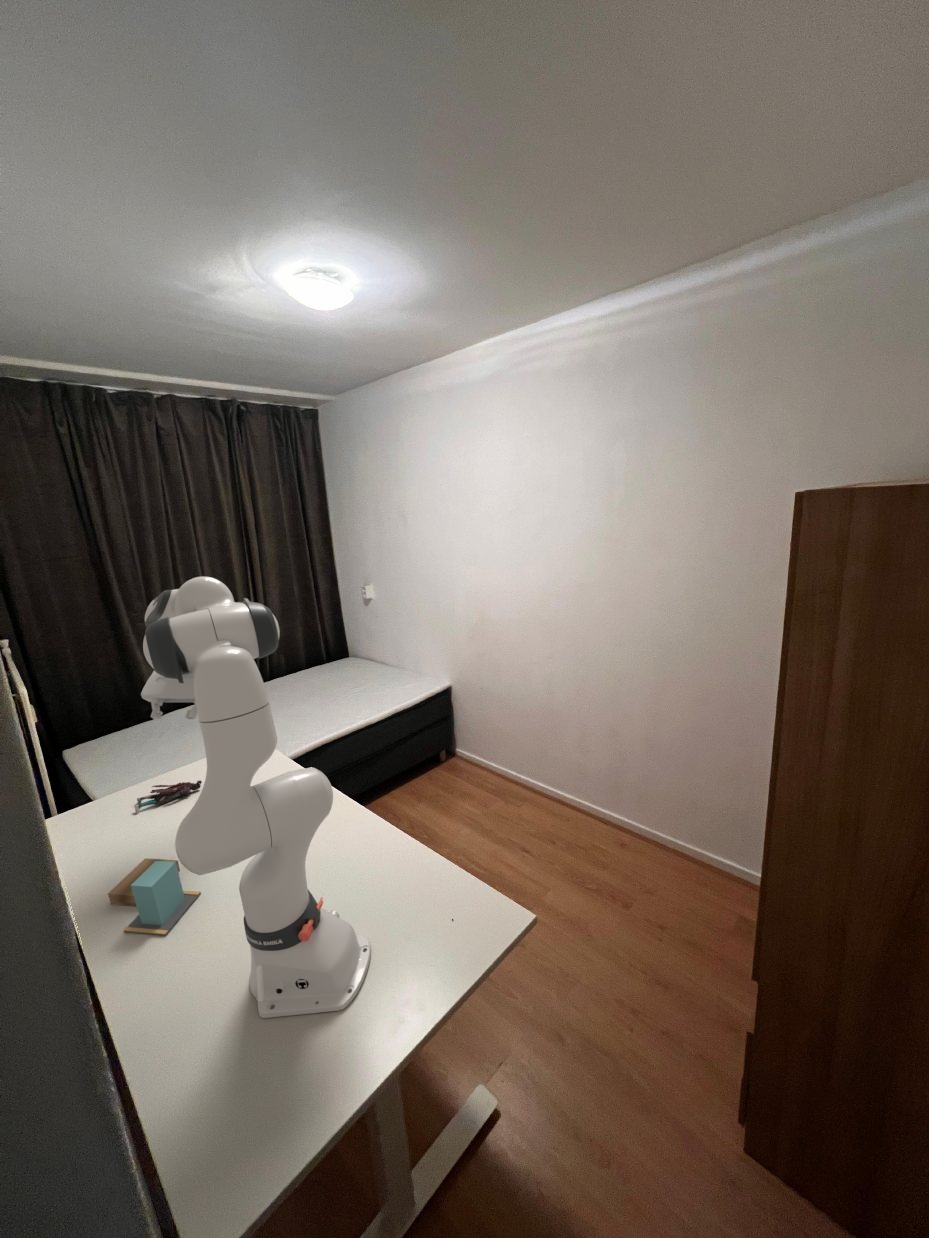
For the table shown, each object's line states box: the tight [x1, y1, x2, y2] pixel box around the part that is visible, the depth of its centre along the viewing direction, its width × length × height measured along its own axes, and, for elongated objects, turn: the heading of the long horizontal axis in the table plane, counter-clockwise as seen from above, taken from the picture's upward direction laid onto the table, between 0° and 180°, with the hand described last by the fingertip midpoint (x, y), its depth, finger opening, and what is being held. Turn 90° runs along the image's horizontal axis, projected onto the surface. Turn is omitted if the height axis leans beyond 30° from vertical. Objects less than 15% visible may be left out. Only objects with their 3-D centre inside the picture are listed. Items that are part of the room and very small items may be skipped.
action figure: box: [134, 779, 203, 815], centre depth 149 cm, size 8×6×18 cm
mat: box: [122, 890, 202, 937], centre depth 107 cm, size 10×11×1 cm
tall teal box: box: [131, 861, 185, 925], centre depth 106 cm, size 5×7×10 cm
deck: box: [107, 858, 181, 908], centre depth 114 cm, size 9×11×3 cm
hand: (172, 718), depth 117 cm, fingers open, 8 cm apart
